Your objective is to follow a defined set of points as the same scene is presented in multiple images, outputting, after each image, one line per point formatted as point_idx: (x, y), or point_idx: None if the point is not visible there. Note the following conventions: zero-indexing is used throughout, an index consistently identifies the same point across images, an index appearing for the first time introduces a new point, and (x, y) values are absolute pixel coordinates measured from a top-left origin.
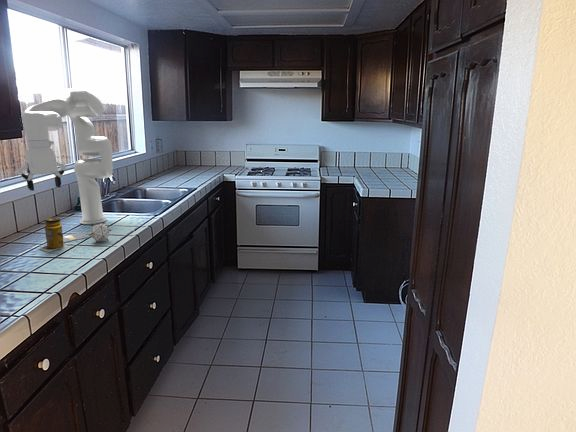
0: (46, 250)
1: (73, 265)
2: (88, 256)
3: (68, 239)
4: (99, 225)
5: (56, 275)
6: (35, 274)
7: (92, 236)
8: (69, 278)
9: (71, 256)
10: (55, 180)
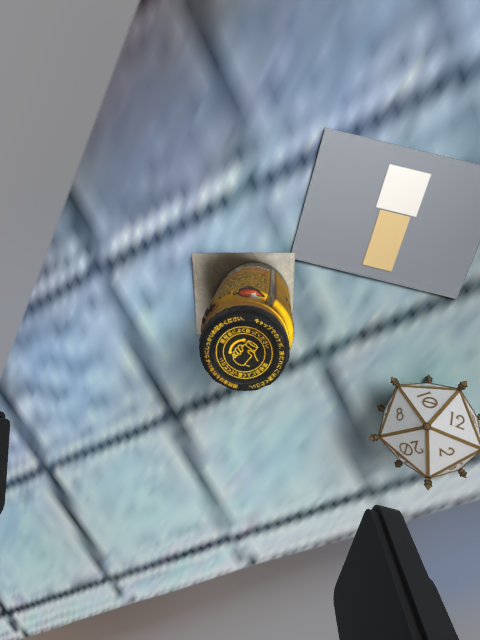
0: (200, 309)
1: (157, 531)
2: (242, 506)
3: (365, 241)
4: (439, 458)
5: (81, 553)
6: (47, 496)
7: (389, 404)
8: (90, 597)
9: (210, 455)
10: (391, 627)
